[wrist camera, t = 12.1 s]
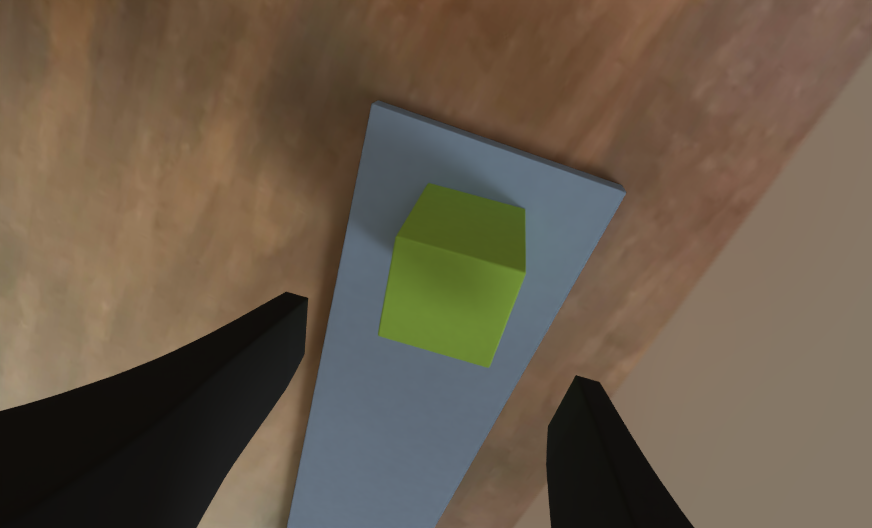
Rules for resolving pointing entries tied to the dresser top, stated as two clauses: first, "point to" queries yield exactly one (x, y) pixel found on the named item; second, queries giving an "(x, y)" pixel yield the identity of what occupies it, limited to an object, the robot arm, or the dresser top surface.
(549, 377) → the dresser top surface
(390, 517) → the mat
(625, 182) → the dresser top surface
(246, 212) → the dresser top surface
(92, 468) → the robot arm
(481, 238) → the cube
